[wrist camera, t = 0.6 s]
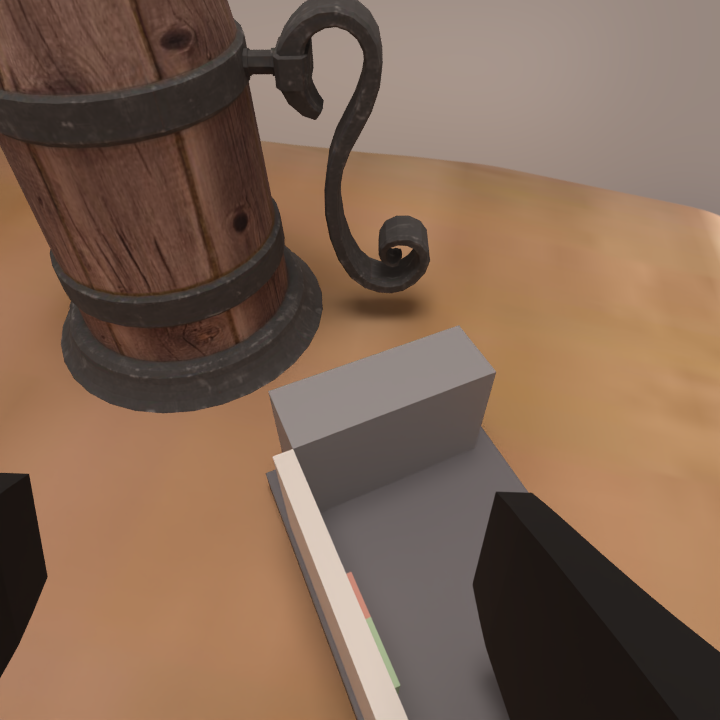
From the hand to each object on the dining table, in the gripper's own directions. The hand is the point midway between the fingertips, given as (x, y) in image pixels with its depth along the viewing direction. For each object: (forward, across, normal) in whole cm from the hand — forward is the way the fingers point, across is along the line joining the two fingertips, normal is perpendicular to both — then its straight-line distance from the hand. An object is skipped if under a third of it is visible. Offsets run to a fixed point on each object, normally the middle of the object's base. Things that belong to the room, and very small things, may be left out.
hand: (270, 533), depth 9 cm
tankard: (+28, +4, +6) cm, 29 cm away
